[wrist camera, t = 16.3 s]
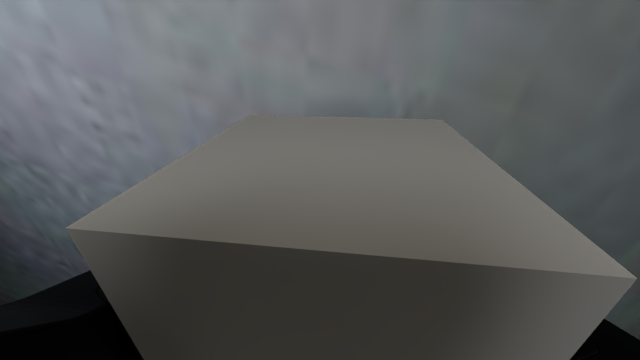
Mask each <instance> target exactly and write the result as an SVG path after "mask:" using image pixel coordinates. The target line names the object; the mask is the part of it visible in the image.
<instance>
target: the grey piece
mask: <svg viewBox="0 0 640 360" xmlns="http://www.w3.org/2000/svg"><path fill="white" fill-rule="evenodd" d="M66 230H67V232H68V233H69V235H70V237H71V238H72V240H73V242H74V243H75V245H76V247H77V248H78V250H79V252H80V253H81V255H82V257H83V258H84V260H85V262H86V264H87V265H88V267H89V269H90V270H91V272H92V274H93V275H94V277H95V279H96V280H97V282H98V284H99V285H100V287H101V289H102V290H103V292H104V294H105V295H106V297H107V299H108V300H109V302H110V304H111V305H112V307H113V309H114V310H115V312H116V314H117V315H118V317H119V319H120V321H121V322H122V324H123V326H124V327H125V329H126V331H127V332H128V334H129V336H130V337H131V339H132V341H133V342H134V344H135V346H136V347H137V349H138V351H139V352H140V354H141V356H142V357H143V359H144V360H570V359H571V357H572V356H573V355H574V354H575V353H576V351H577V350H578V349H579V348H580V347H581V345H582V344H583V343H584V342H585V341H586V339H587V338H588V337H589V336H590V335H591V333H592V332H593V331H594V330H595V329H596V327H597V326H598V325H599V324H600V323H601V321H602V320H603V319H604V318H605V317H606V315H607V314H608V313H609V312H610V311H611V310H612V308H613V307H614V306H615V305H616V304H617V302H618V301H619V300H620V299H621V298H622V296H623V295H624V294H625V293H626V292H627V290H628V289H629V288H630V287H631V286H632V284H633V283H634V282H635V281H636V280H637V278H636V277H635V276H634V275H632V274H631V273H630V272H629V271H628V270H626V269H625V268H624V267H623V266H621V265H620V264H619V263H618V262H616V261H615V260H614V259H613V258H611V257H610V256H609V255H608V254H607V253H605V252H604V251H603V250H602V249H600V248H599V247H598V246H597V245H595V244H594V243H593V242H592V241H591V240H589V239H588V238H587V237H586V236H584V235H583V234H582V233H581V232H579V231H578V230H577V229H576V228H574V227H573V226H572V225H571V224H570V223H568V222H567V221H566V220H565V219H563V218H562V217H561V216H560V215H558V214H557V213H556V212H555V211H554V210H552V209H551V208H550V207H549V206H547V205H546V204H545V203H544V202H542V201H541V200H540V199H539V198H537V197H536V196H535V195H534V194H533V193H531V192H530V191H529V190H528V189H526V188H525V187H524V186H523V185H521V184H520V183H519V182H518V181H517V180H515V179H514V178H513V177H512V176H510V175H509V174H508V173H507V172H505V171H504V170H503V169H502V168H500V167H499V166H498V165H497V164H496V163H494V162H493V161H492V160H491V159H489V158H488V157H487V156H486V155H484V154H483V153H482V152H481V151H480V150H478V149H477V148H476V147H475V146H473V145H472V144H471V143H470V142H468V141H467V140H466V139H465V138H463V137H462V136H461V135H460V134H459V133H457V132H456V131H455V130H454V129H452V128H451V127H450V126H449V125H447V124H446V123H445V122H444V121H443V120H428V119H392V118H355V117H319V116H282V115H249V116H247V117H245V118H244V119H242V120H240V121H239V122H237V123H236V124H234V125H232V126H231V127H229V128H227V129H226V130H224V131H223V132H221V133H219V134H218V135H216V136H214V137H213V138H211V139H210V140H208V141H206V142H205V143H203V144H201V145H200V146H198V147H197V148H195V149H193V150H192V151H190V152H188V153H187V154H185V155H184V156H182V157H180V158H179V159H177V160H175V161H174V162H172V163H171V164H169V165H167V166H166V167H164V168H162V169H161V170H159V171H158V172H156V173H154V174H153V175H151V176H149V177H148V178H146V179H145V180H143V181H141V182H140V183H138V184H136V185H135V186H133V187H132V188H130V189H128V190H127V191H125V192H123V193H122V194H120V195H119V196H117V197H115V198H114V199H112V200H110V201H109V202H107V203H106V204H104V205H102V206H101V207H99V208H97V209H96V210H94V211H93V212H91V213H89V214H88V215H86V216H84V217H83V218H81V219H80V220H78V221H76V222H75V223H73V224H71V225H70V226H68V227H67V228H66Z"/></svg>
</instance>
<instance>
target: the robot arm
mask: <svg viewBox="0 0 640 360" xmlns="http://www.w3.org/2000/svg"><path fill="white" fill-rule="evenodd" d="M0 360H144V359H143V357H142V356H141V354H140V352H139V351H138V349H137V347H136V346H135V344H134V342H133V341H132V339H131V337H130V336H129V334H128V332H127V331H126V329H125V327H124V326H123V324H122V322H121V321H120V319H119V317H118V315H117V314H116V312H115V310H114V309H113V307H112V305H111V304H110V302H109V300H108V299H107V297H106V295H105V294H104V292H103V290H102V289H101V287H100V285H99V284H98V282H97V280H96V279H95V277H94V275H93V274H92V272H91V270H89V271H87V272H85V273H82V274H80V275H78V276H75V277H73V278H71V279H68V280H66V281H64V282H61V283H59V284H57V285H54V286H52V287H50V288H47V289H45V290H43V291H40V292H38V293H35V294H33V295H30V296H28V297H25V298H22V299H19V300H16V301H13V302H9V303H5V304H1V305H0ZM570 360H640V340H639V339H637V338H635V337H634V336H632V335H630V334H629V333H627V332H625V331H624V330H622V329H620V328H619V327H617V326H615V325H614V324H612V323H611V322H609V321H607V320H606V319H603V320H602V321H601V323H600V324H599V325H598V326H597V327H596V329H595V330H594V331H593V332H592V333H591V335H590V336H589V337H588V338H587V339H586V341H585V342H584V343H583V344H582V345H581V347H580V348H579V349H578V350H577V351H576V353H575V354H574V355H573V356H572V357H571V359H570Z"/></svg>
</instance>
